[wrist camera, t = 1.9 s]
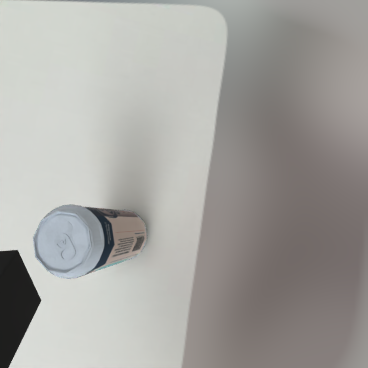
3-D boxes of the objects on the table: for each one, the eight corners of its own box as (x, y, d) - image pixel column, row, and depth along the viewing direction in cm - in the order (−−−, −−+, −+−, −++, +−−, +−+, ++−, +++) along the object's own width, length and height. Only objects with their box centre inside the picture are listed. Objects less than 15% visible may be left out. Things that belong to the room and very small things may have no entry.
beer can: (134, 200, 34) (77, 190, 22) (157, 245, 33) (110, 258, 21) (92, 224, 34) (15, 226, 22) (114, 268, 33) (45, 295, 22)
